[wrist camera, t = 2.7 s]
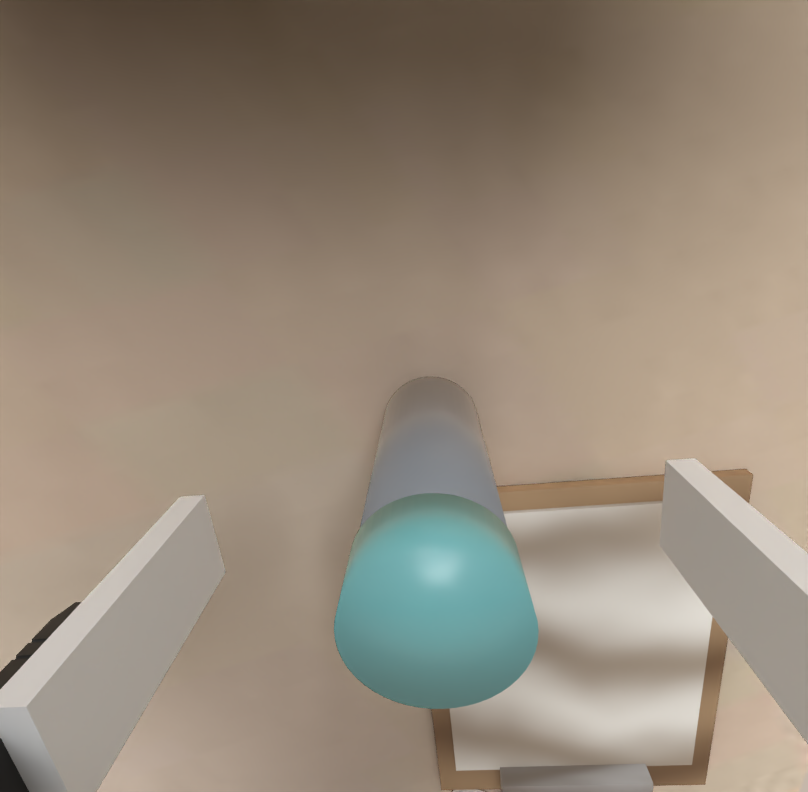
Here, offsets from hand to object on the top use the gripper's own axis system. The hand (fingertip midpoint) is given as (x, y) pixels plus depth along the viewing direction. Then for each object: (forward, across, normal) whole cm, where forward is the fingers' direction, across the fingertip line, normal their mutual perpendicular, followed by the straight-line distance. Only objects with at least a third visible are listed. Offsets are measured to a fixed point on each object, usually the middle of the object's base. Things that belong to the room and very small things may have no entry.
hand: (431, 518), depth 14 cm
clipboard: (+8, +6, -14) cm, 17 cm away
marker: (+8, 0, 0) cm, 8 cm away
